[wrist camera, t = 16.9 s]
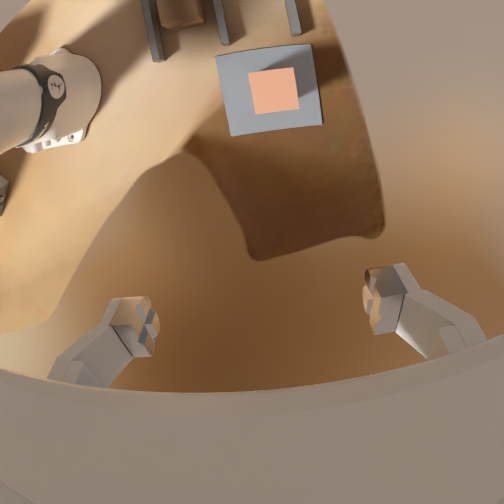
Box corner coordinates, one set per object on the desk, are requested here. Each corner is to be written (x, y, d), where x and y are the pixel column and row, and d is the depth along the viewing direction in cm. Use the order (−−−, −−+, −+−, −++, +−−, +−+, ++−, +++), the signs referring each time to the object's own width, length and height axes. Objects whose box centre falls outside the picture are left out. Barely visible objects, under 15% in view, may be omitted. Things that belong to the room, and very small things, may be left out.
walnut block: (173, 32, 33) (161, 25, 28) (167, 6, 30) (155, -3, 25) (205, 23, 32) (197, 15, 27) (199, -3, 29) (191, -15, 24)
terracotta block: (255, 107, 39) (255, 114, 30) (250, 75, 37) (247, 73, 27) (289, 102, 39) (299, 108, 30) (284, 71, 36) (293, 67, 27)
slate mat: (231, 136, 42) (231, 136, 42) (215, 56, 35) (215, 56, 35) (321, 124, 41) (322, 124, 40) (310, 44, 34) (310, 44, 33)
